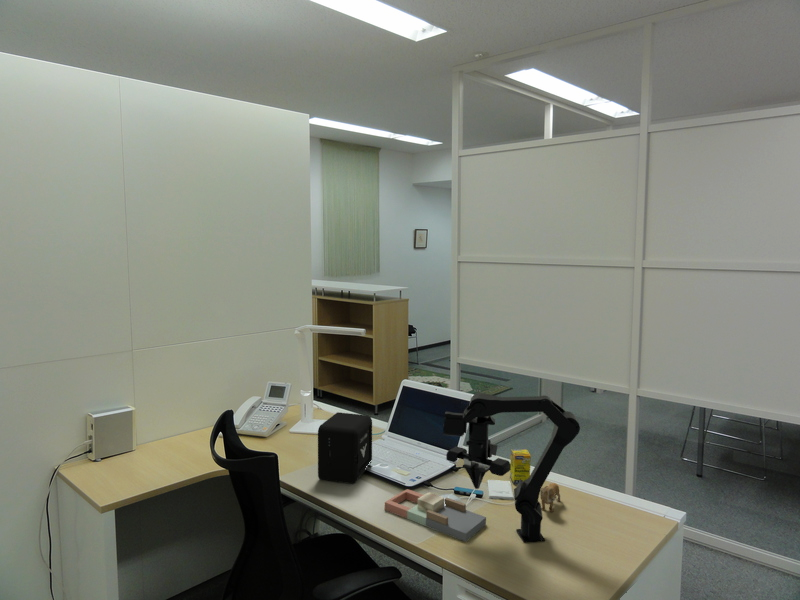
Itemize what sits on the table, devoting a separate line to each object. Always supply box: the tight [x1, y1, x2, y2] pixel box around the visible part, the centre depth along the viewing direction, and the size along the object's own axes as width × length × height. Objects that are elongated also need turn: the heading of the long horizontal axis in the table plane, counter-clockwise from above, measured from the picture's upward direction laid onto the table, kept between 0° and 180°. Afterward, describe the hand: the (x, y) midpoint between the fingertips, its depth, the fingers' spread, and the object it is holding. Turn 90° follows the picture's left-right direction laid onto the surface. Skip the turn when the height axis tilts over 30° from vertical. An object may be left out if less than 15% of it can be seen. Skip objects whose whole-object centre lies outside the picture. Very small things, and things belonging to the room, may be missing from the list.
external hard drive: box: [486, 479, 515, 501], centre depth 184 cm, size 2×8×12 cm
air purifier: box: [317, 411, 373, 484], centre depth 196 cm, size 20×15×20 cm
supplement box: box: [509, 449, 532, 485], centre depth 191 cm, size 6×6×11 cm
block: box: [416, 491, 445, 512], centre depth 166 cm, size 6×6×3 cm
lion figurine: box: [540, 482, 561, 513], centre depth 173 cm, size 15×5×9 cm, turn 156°
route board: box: [384, 488, 487, 543], centre depth 165 cm, size 30×12×4 cm, turn 53°
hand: (477, 488), depth 157 cm, fingers closed
